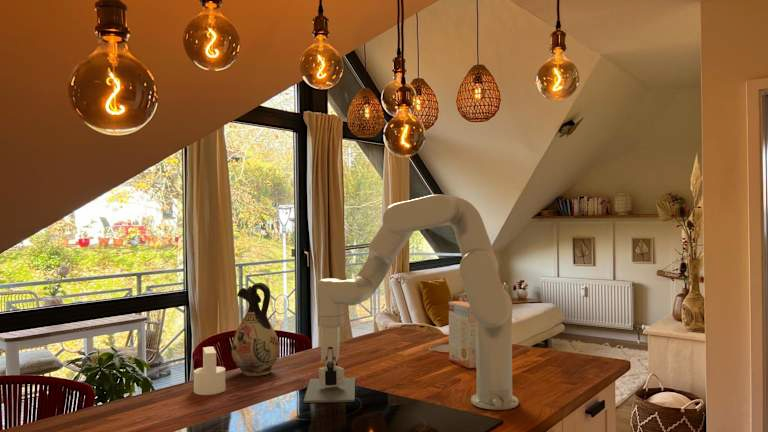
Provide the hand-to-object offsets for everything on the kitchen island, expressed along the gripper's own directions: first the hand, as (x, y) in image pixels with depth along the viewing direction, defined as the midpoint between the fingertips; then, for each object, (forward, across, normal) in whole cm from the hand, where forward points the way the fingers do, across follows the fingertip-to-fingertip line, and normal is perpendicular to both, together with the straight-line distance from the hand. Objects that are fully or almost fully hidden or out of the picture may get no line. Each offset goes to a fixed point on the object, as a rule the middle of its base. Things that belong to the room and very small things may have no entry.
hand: (331, 380), depth 172 cm
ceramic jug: (+3, -21, -25) cm, 33 cm away
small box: (+1, 0, 0) cm, 1 cm away
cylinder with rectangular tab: (+3, -3, -36) cm, 36 cm away
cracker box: (+3, -28, +45) cm, 53 cm away
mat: (+3, 0, 0) cm, 3 cm away
